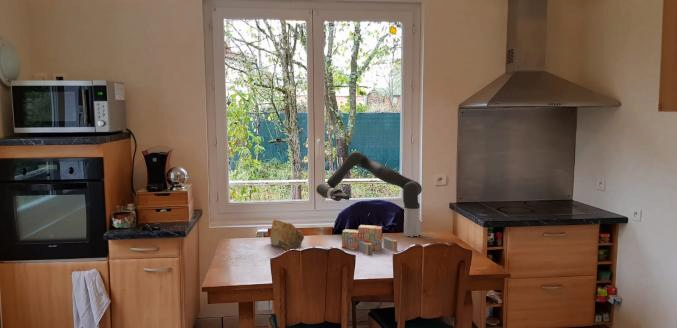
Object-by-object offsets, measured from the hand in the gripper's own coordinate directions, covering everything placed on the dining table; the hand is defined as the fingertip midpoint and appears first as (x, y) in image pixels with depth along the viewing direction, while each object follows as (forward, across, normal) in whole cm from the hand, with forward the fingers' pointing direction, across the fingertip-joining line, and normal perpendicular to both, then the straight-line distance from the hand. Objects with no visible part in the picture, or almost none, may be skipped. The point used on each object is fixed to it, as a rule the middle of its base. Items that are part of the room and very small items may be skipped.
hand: (348, 198), depth 273 cm
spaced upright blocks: (+34, 0, +24) cm, 41 cm away
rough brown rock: (+5, -40, +24) cm, 47 cm away
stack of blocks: (+25, -5, +24) cm, 35 cm away
